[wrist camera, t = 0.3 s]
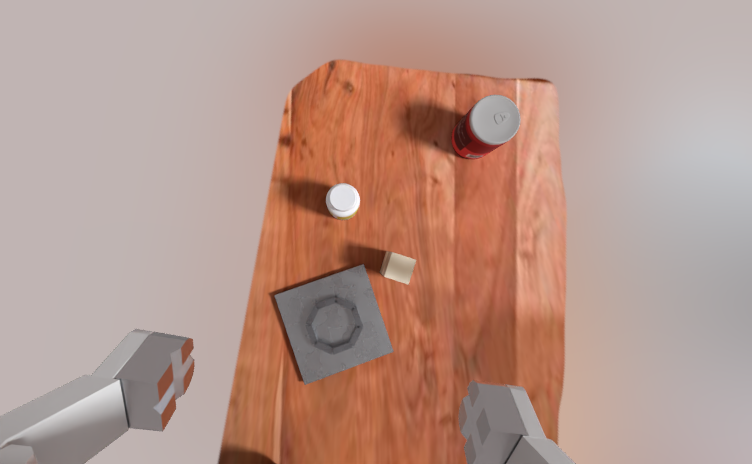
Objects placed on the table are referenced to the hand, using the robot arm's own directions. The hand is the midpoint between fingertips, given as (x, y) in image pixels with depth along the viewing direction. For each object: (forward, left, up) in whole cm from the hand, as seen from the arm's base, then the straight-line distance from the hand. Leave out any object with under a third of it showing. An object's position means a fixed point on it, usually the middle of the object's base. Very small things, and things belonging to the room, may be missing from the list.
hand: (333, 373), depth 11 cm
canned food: (+14, -29, -53) cm, 62 cm away
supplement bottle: (+10, -3, -53) cm, 54 cm away
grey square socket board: (-9, +5, -53) cm, 54 cm away
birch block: (-3, -8, -53) cm, 54 cm away
